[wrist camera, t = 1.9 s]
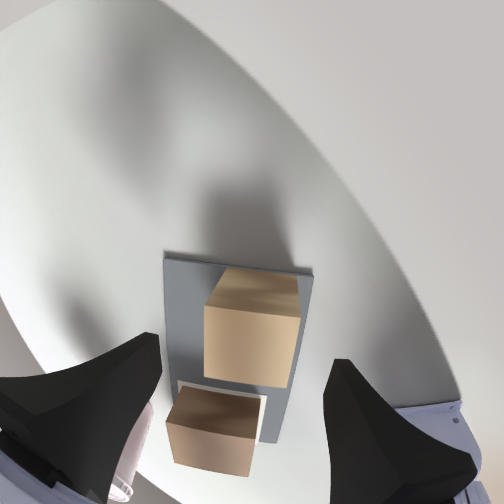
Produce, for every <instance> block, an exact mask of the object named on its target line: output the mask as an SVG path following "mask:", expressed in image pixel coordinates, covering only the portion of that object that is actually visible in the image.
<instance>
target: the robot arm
mask: <svg viewBox="0 0 504 504" xmlns="http://www.w3.org/2000/svg"><path fill="white" fill-rule="evenodd" d="M161 374H162V364H161V355H160V345H159V335H157V334H153V333H148V332H144V333H142V334H140V335H138V336H137V337H135V338H133V339H131V340H129V341H127V342H126V343H124V344H122V345H120V346H118V347H116V348H115V349H113V350H111V351H109V352H107V353H105V354H103V355H100V356H98V357H96V358H94V359H92V360H90V361H87V362H85V363H82V364H80V365H77V366H74V367H71V368H68V369H64V370H60V371H56V372H52V373H48V374H43V375H36V376H28V377H0V428H1V429H2V431H1V432H0V503H1V504H107V500H108V496H109V492H110V488H111V484H112V480H113V477H114V474H115V471H116V468H117V465H118V462H119V459H120V457H121V454H122V451H123V449H124V446H125V444H126V442H127V439H128V437H129V434H130V432H131V430H132V429H133V427H134V425H135V423H136V421H137V420H138V418H139V416H140V415H141V413H142V411H143V410H144V408H145V406H146V405H147V403H148V401H149V400H150V398H151V396H152V394H153V393H154V391H155V389H156V386H157V384H158V382H159V379H160V377H161ZM462 405H463V402H462V401H461V400H459V401H453V402H447V403H441V404H434V405H426V406H418V407H408V408H397V409H393V408H392V407H391V406H390V405H389V404H388V403H387V402H386V401H385V400H384V399H383V398H382V397H381V396H380V395H379V394H378V393H377V392H376V391H375V390H374V389H373V387H372V386H371V385H370V384H369V383H368V382H367V380H366V379H365V378H364V377H363V376H362V374H361V373H360V372H359V371H358V370H357V368H356V367H355V366H354V365H353V363H352V362H351V361H350V360H349V359H334V363H333V366H332V369H331V372H330V375H329V378H328V382H327V385H326V388H325V391H324V393H323V410H324V421H325V427H326V434H327V440H328V447H329V454H330V463H331V491H330V504H491V502H490V499H489V497H488V495H487V493H486V490H485V488H484V486H483V484H482V483H481V481H475V480H476V478H477V476H478V475H479V472H480V469H481V452H480V448H479V446H478V444H477V442H476V440H475V438H474V436H473V434H472V432H471V430H470V429H469V427H468V425H467V423H466V421H465V419H464V417H463V416H462V414H461V412H460V410H459V409H460V408H461V406H462Z"/></svg>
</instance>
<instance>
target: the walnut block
mask: <svg viewBox="0 0 504 504" xmlns="http://www.w3.org/2000/svg"><path fill="white" fill-rule="evenodd" d="M260 404H261V399H259V398H251V397H244V396H237V395H230V394H224V393H219V392H213V391H208V390H202V389H198V388H193V387H188V386H184V385H183V386H182V388H181V390H180V392H179V394H178V396H177V398H176V400H175V403H174V405H173V407H172V409H171V411H170V413H169V415H168V417H167V419H166V427H167V432H168V437H169V441H170V446H171V450H172V454H173V459H174V463H177V464H181V465H185V466H189V467H194V468H198V469H203V470H207V471H212V472H218V473H223V474H229V475H236V476H243V477H248V476H249V471H250V466H251V461H252V456H253V451H254V446H255V440H256V433H257V426H258V419H259V411H260Z"/></svg>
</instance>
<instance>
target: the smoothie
mask: <svg viewBox="0 0 504 504" xmlns="http://www.w3.org/2000/svg"><path fill="white" fill-rule="evenodd" d="M153 414H154V410H153V408H152V406H151V405H150V404H149V402H148V403H147V405H146V406H145V408H144V410H143V411H142V413H141V415H140V416H139V418H138V420H137V421H136V423H135V425H134V427H133V429H132V430H131V432H130V434H129V437H128V439H127V442H126V444H125V446H124V449H123V451H122V454H121V457H120V459H119V462H118V465H117V468H116V471H115V474H114V477H113V480H112V484H111V488H110V492H109V496H108V498H110V499H112V500H116V501H120V502H127V501H129V499H130V496H131V495H132V494H133V490H132V488H131V484H132V481H133V477H134V475H135V471H136V467H137V464H138V461H139V458H140V455H141V451H142V448H143V445H144V442H145V439H146V436H147V433H148V430H149V427H150V423H151V420H152V417H153Z"/></svg>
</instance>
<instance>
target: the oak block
mask: <svg viewBox="0 0 504 504" xmlns="http://www.w3.org/2000/svg"><path fill="white" fill-rule="evenodd" d="M300 320H301V313H300V303H299V293H298V283H297V275H288V274H279V273H271V272H262V271H254V270H245V269H237V268H229V267H227V268H226V270H225V272H224V273H223V275H222V277H221V278H220V280H219V282H218V283H217V285H216V287H215V288H214V290H213V292H212V293H211V295H210V297H209V298H208V300H207V302H206V303H205V305H204V377H208V378H214V379H220V380H225V381H232V382H238V383H245V384H253V385H260V386H269V387H278V388H287V383H288V379H289V374H290V370H291V365H292V361H293V356H294V351H295V346H296V341H297V336H298V331H299V326H300Z"/></svg>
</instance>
